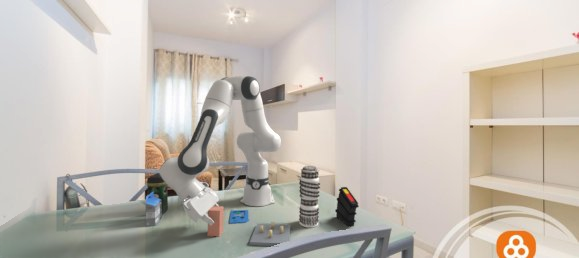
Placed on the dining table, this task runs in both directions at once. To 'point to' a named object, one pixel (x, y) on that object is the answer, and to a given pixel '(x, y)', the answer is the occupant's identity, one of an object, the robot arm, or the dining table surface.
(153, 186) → the coffee jar
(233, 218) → the handheld gaming device
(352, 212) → the black ribbed casing
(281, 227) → the plate
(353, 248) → the dining table surface
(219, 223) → the salmon pink block
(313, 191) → the decorative candle
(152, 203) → the label tape box
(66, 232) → the dining table surface
